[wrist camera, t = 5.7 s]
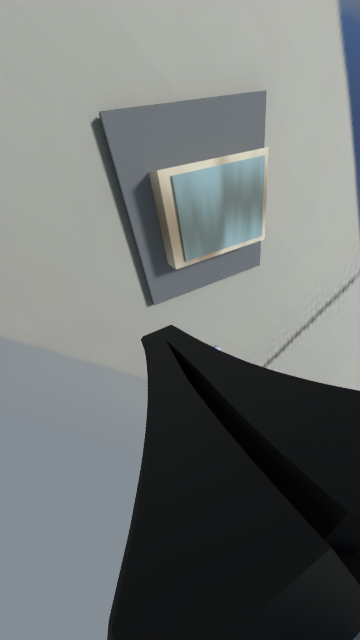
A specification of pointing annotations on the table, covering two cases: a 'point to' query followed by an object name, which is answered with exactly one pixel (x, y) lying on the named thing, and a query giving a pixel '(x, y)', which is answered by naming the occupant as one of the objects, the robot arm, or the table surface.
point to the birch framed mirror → (211, 205)
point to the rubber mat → (174, 150)
